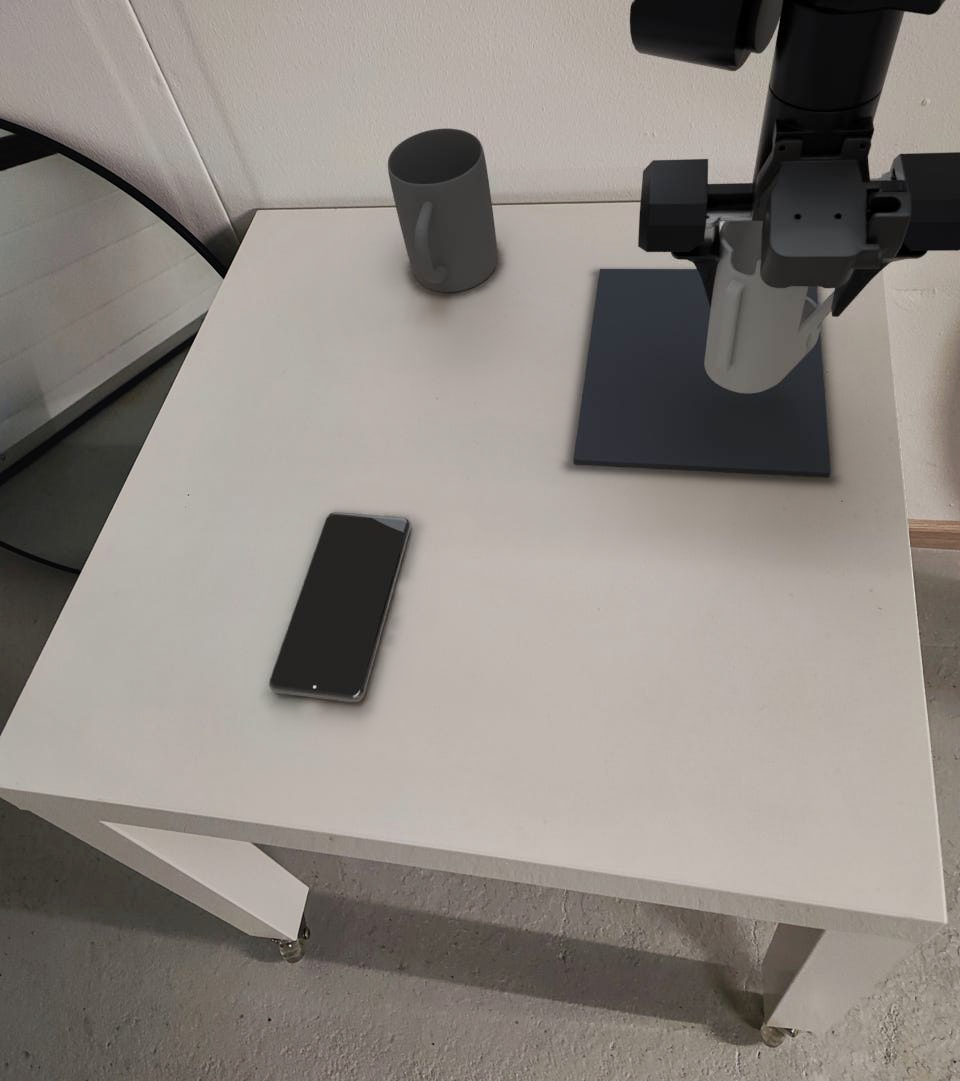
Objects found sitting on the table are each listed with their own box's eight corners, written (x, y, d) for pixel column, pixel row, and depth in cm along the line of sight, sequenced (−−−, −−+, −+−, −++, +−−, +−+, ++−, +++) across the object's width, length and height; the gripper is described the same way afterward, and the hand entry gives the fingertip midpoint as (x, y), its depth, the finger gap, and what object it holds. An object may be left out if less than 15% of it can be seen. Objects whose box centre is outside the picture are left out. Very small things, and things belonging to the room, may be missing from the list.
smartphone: (411, 516, 65) (360, 700, 56) (414, 524, 66) (364, 706, 57) (326, 510, 67) (264, 688, 58) (330, 517, 67) (269, 694, 59)
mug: (422, 236, 87) (398, 128, 77) (505, 236, 85) (492, 125, 75) (392, 324, 80) (361, 218, 70) (482, 326, 78) (464, 217, 68)
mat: (814, 274, 76) (815, 269, 75) (829, 477, 63) (830, 472, 63) (599, 273, 80) (599, 268, 79) (573, 464, 67) (573, 459, 67)
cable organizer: (844, 324, 61) (887, 176, 51) (750, 423, 57) (778, 282, 47) (765, 292, 64) (792, 146, 54) (671, 383, 60) (682, 244, 50)
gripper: (637, 177, 40) (629, 395, 53) (1055, 168, 37) (937, 403, 50) (648, 60, 46) (638, 282, 59) (1009, 42, 42) (914, 282, 55)
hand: (773, 312), depth 56 cm, fingers closed on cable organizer, 7 cm apart
